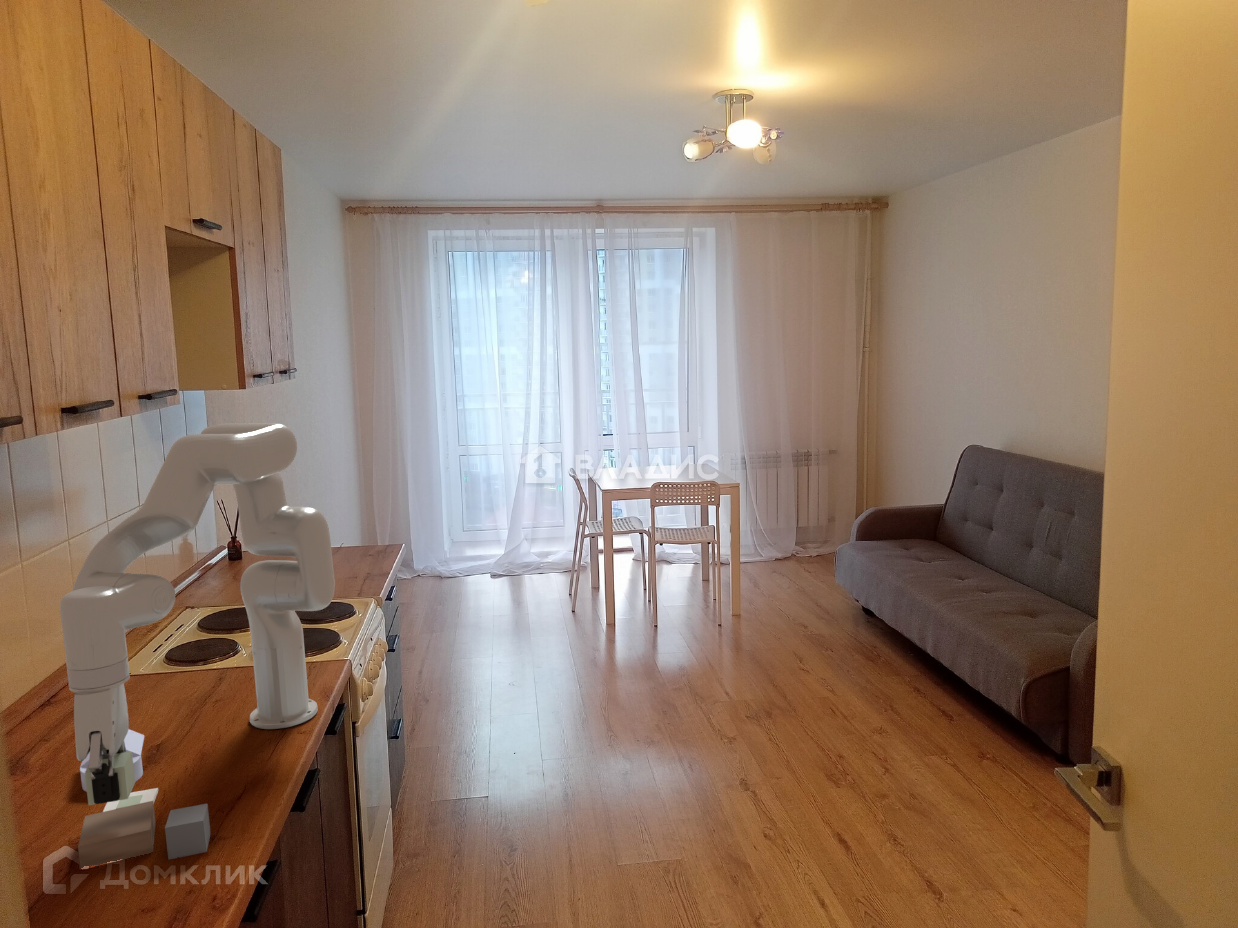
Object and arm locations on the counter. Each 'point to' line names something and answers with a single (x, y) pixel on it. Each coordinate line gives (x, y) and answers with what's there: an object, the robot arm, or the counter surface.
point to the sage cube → (125, 776)
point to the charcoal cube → (187, 831)
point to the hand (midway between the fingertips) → (112, 790)
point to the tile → (133, 799)
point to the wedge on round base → (132, 744)
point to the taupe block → (117, 834)
